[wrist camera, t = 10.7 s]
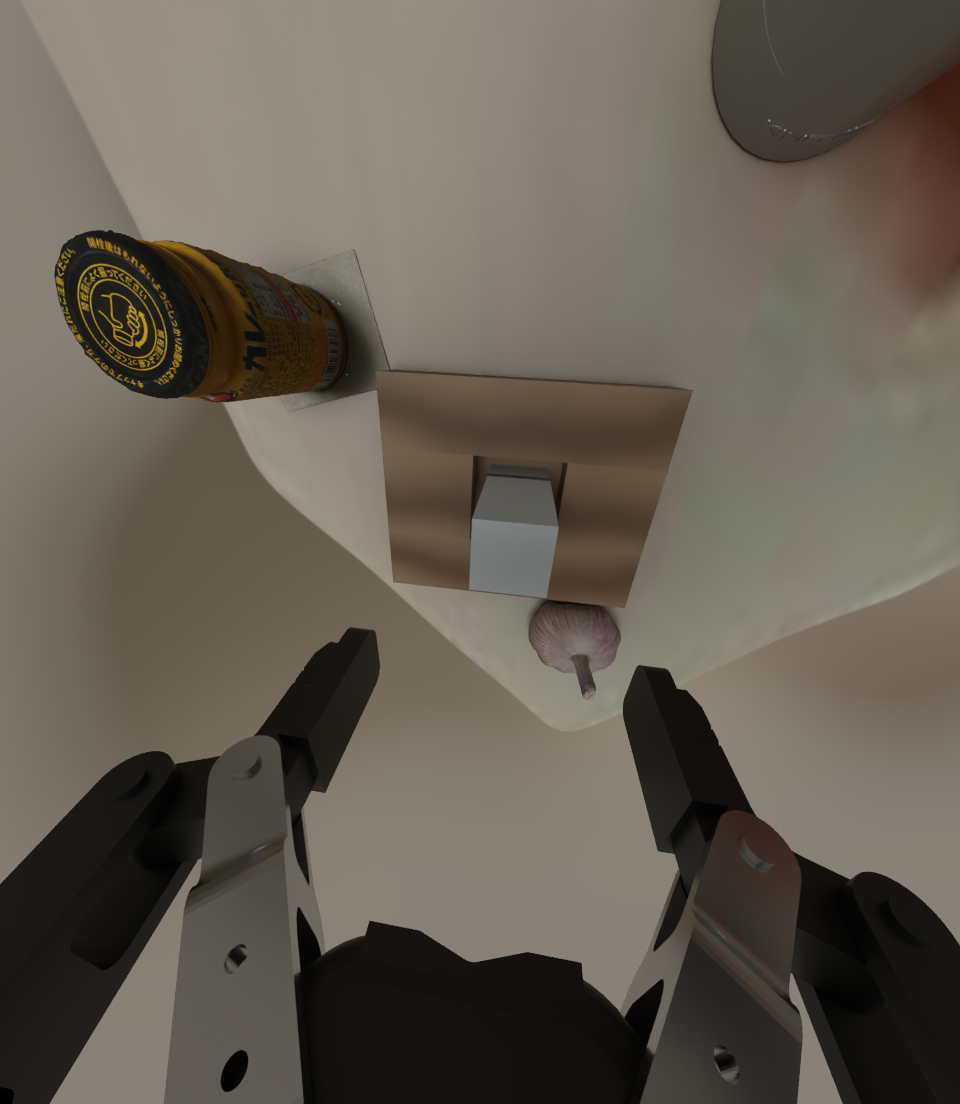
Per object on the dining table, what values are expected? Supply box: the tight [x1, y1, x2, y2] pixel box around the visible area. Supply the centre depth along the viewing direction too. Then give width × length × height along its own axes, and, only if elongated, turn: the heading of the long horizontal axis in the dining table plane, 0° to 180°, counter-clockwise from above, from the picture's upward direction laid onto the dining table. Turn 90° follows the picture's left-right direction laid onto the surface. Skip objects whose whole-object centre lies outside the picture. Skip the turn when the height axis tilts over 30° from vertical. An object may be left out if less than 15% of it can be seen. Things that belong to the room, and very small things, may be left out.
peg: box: [469, 464, 559, 598], centre depth 21 cm, size 4×4×10 cm
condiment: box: [55, 230, 389, 412], centre depth 18 cm, size 7×8×12 cm
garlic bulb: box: [529, 603, 621, 700], centre depth 28 cm, size 8×7×8 cm
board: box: [376, 370, 693, 608], centre depth 25 cm, size 15×18×3 cm
